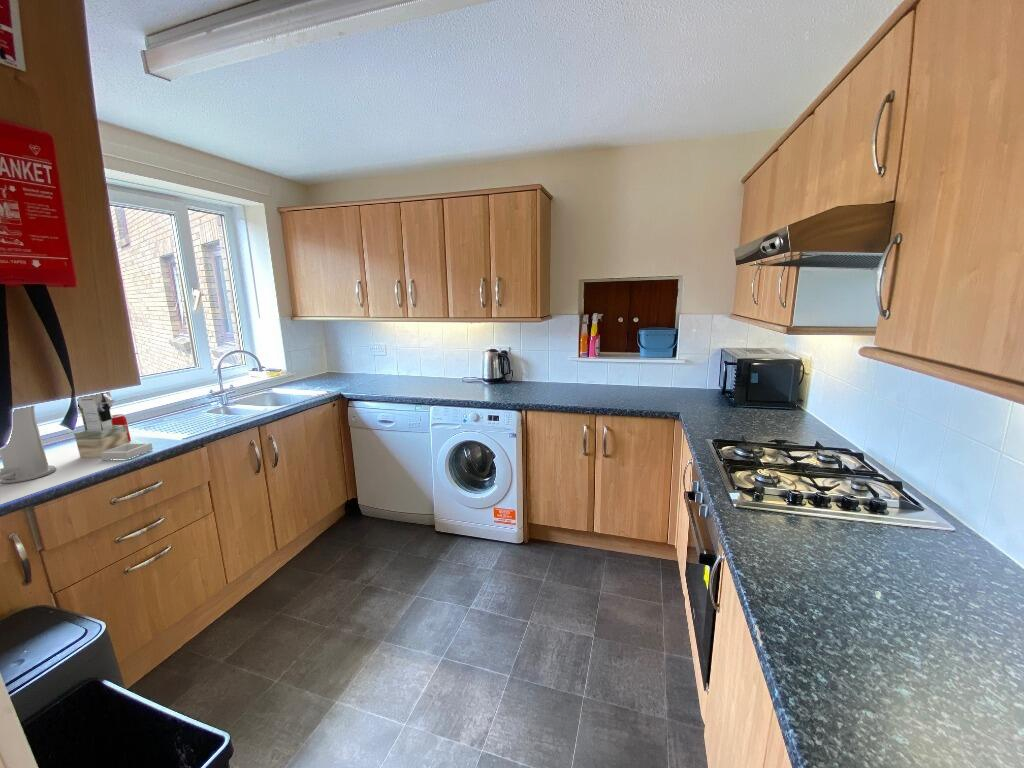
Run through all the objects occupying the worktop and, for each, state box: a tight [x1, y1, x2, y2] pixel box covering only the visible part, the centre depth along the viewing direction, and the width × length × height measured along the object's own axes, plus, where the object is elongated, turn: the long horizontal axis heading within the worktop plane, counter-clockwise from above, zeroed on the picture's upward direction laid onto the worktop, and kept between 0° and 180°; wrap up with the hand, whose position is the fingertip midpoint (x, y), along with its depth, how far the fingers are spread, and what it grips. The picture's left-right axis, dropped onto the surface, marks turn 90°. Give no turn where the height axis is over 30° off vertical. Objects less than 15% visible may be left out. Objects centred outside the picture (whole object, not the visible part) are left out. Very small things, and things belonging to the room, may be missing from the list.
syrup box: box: [78, 397, 114, 432], centre depth 161 cm, size 6×6×14 cm
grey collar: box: [100, 442, 154, 461], centre depth 159 cm, size 10×10×3 cm
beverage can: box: [111, 413, 132, 443], centre depth 173 cm, size 6×6×12 cm
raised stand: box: [73, 425, 130, 458], centre depth 163 cm, size 10×10×10 cm
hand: (97, 420), depth 161 cm, fingers open, 6 cm apart
